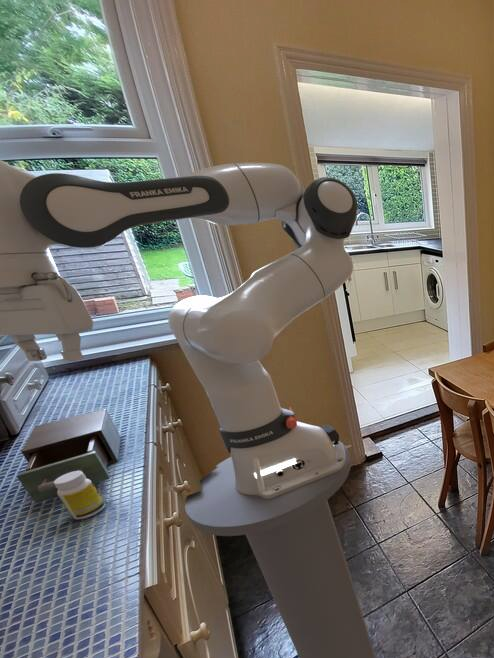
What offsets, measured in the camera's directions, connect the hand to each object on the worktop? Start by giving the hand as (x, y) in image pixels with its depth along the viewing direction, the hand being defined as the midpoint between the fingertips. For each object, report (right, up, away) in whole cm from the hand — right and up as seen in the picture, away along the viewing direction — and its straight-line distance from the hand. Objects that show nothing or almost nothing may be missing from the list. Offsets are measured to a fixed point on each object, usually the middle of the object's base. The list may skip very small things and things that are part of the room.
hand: (56, 360), depth 68 cm
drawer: (-19, -25, +21) cm, 37 cm away
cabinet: (-27, -22, +30) cm, 46 cm away
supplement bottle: (-7, -29, +13) cm, 33 cm away
